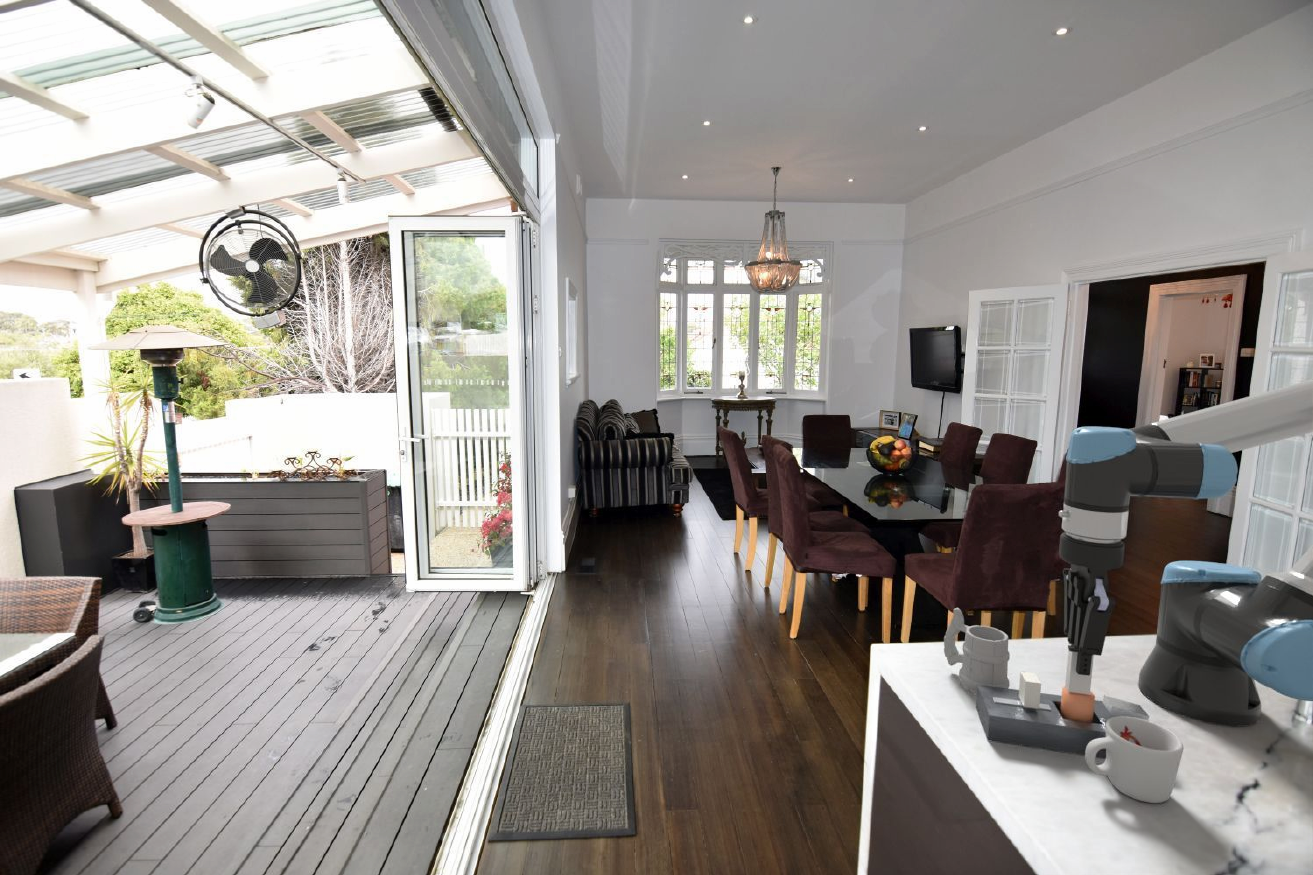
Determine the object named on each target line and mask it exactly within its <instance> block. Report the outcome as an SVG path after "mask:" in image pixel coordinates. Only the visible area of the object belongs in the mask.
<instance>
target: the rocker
mask: <svg viewBox="0 0 1313 875" xmlns="http://www.w3.org/2000/svg"><path fill="white" fill-rule="evenodd" d="M1101 701H1102V703H1103V704H1104V705H1105V707H1106V708H1107V709H1108V711H1109V712H1110V713H1112V714H1115V715H1119V716H1128V717H1135V718H1139V719H1143V720H1147V721H1149V720H1150V715H1149V714H1148V713H1147V712H1146V711H1145V710H1144V708H1143V707H1142V706H1141V704H1137V703H1133V702H1129V701H1125V700H1123V699H1118V698H1115V697H1112V696H1107V695H1104V696H1103V699H1102V700H1101Z"/></svg>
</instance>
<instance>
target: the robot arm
mask: <svg viewBox="0 0 1313 875" xmlns="http://www.w3.org/2000/svg"><path fill="white" fill-rule="evenodd" d="M1310 433H1313V378H1311V379H1308V380H1305V381H1300V382H1297V383H1294V384H1290V385H1287V386H1283V387H1280V388H1275V389H1272V390H1268V391H1265V392H1261V393H1258V394H1253V395H1251V396H1245V397H1243V398H1239V399H1235V400H1231V401H1229V402H1228V401H1227V402H1225V403H1222V404H1218V405H1213V406H1210V407H1206V408H1203V409H1199V410H1195V411H1192V412H1188V413H1185V414H1180V415H1177V416H1173V417H1171V418H1170V417H1169V418H1165V419H1163V420H1159V421H1156V422H1155V421H1154V422H1151V423H1148V424H1143V425H1140V426H1136V427H1133V428H1121V427H1111V426H1081V427H1077V428H1075V429H1073V431H1072V432H1071V434H1070V437H1069V438H1070V439H1069V442H1068V446H1067V447H1068V448H1067V454H1066V457H1065V460H1066V472H1065V485H1064V486H1065V487H1064V497H1063V510H1059V511H1058V517H1060V518H1062V522H1061V529H1062V530H1063V531H1064V532H1062V533H1061V534H1060V536H1059V549H1058V550H1059V551H1058V555H1059V558H1060V559H1062V560H1063V561H1064V562H1066V563H1068V564H1070V568H1065V567H1064V568H1063V569H1062V575H1063V583H1064V589H1063V590H1064V594H1063V596H1064V597H1063V598H1064V599H1063V600H1064V601H1063V603H1064V604H1063V605H1064V607H1063V611H1064V612H1063V616H1064V617H1063V618H1064V619H1063V633H1064V635H1067V643H1068V644H1069V645H1067V648H1068V654H1067V662H1066V663H1067V664H1066V674H1065V684H1064V686H1065V687H1066V689H1067V690H1068V692H1073V693H1080V694H1087V695H1090V691H1091V685H1092V677H1093V668H1094V667H1093V666H1094V656H1102V654H1103V649H1104V645H1105V641H1106V636H1107V633H1108V632H1107V631H1108V628H1109V623H1110V619H1111V614H1112V612H1113V610H1114V608H1115V606H1116V600H1115V598H1114V597H1109V596H1107V593H1108V592H1109V590H1110V581H1109V579H1108V572H1109V571H1111V570H1116V569H1120V568H1121V567H1122V566H1123V565H1124V564H1123V563H1124V556H1125V555H1124V553H1125V542H1123V540H1122V539H1125V538H1126V537H1127V530H1128V522H1129V521H1128V520H1129V506H1130V500H1131V499H1130V498H1131V497H1147V498H1148V497H1150V498H1151V497H1153V498H1174V499H1176V498H1178V499H1192V500H1199V499H1217V498H1218V499H1219V498H1222V497H1225V496H1226V495H1227V494H1230V492H1231V491H1232V490H1233V489H1234V487H1235V485H1236V483H1237V480H1238V479H1237V475H1238V471H1239V470H1238V464H1237V460H1236V457H1235V456H1234V455H1233V453H1236V452H1239V451H1244V450H1248V449H1252V448H1255V447H1259V446H1264V445H1267V444H1270V443H1275V442H1280V441H1283V440H1288V439H1291V438H1294V437H1295V438H1296V437H1298V436H1302V435H1306V434H1310ZM1262 577H1263V576H1262V574H1261V573H1260V572H1259V571H1257V570H1255V569H1253V568H1249V567H1246V566H1245V567H1244V566H1240V565H1234V564H1230V563H1228V564H1227V563H1223V562H1222V563H1220V562H1219V563H1218V562H1213V561H1202V560H1178V561H1177V560H1176V561H1172V562H1169V563H1167V565H1166V566H1165V567H1164V570H1163V574H1162V578H1161V581H1160V585H1161V589H1160V601H1159V608H1158V619H1157V620H1158V621H1157V628H1156V629H1157V630H1156V638H1155V639H1156V640H1155V641H1156V642H1155V645H1154V647H1153V649H1152V650H1151V652H1150V654H1149V655H1148V657H1147V659H1146V660H1145V662H1144V664H1143V665H1142V667H1141V668H1140V671H1139V672H1138V673H1139V675H1138V682H1137V683H1138V689H1139V690H1140V692H1141V693H1142V694H1143V695H1145V697H1146V698H1148V699H1149V700H1150V701H1152V702H1153V703H1155V704H1157V705H1159V706H1160V707H1163V708H1164V709H1166V710H1169V711H1171V712H1174V713H1175V714H1178V715H1181V716H1184V717H1186V718H1190V719H1192V720H1197V721H1201V722H1204V723H1208V724H1214V725H1220V726H1227V727H1247V726H1253V725H1256V724H1257V723H1259V721H1260V719H1261V714H1262V701H1261V698H1260V695H1259V691H1258V688H1257V685H1256V682H1257V683H1259V684H1260V685H1262V686H1264V687H1266V688H1268V689H1271V690H1273V691H1275V692H1276V693H1278V694H1281V695H1282V696H1285V697H1287V698H1290V699H1294V700H1298V701H1306V702H1313V544H1312V545H1311V546H1310V547H1309V548H1308V549H1307V550H1306V551H1305V553H1304V554H1303V555H1302V556H1301V557H1300V558H1299V560H1297V561H1296V563H1295V564H1294V565H1293V566H1292V567H1291V568H1290V569H1289V570H1286V571H1284V572H1273V573H1267V574H1265V576H1264V578H1262Z"/></svg>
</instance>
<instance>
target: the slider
mask: <svg viewBox="0 0 1313 875" xmlns="http://www.w3.org/2000/svg"><path fill="white" fill-rule="evenodd" d="M1041 689H1042V682H1041V681H1040V679H1039V678H1038V676H1037V674H1036V673H1033V672H1026V671H1020V674H1019V687H1018V690H1019V698H1020V700H1021V702H1022V704H1023V706H1024V707H1030V708H1037V709H1039V704H1040V693H1042V690H1041Z"/></svg>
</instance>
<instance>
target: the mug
mask: <svg viewBox="0 0 1313 875" xmlns="http://www.w3.org/2000/svg"><path fill="white" fill-rule="evenodd" d="M960 632H963V633H965V637H964V642H963V643H962V648H961V649H962V652H963V653H960V651H959V650H958V648H957V646H956V638H957V635H958V634H959V633H960ZM943 652H944V657H945V658H946V660H947V663H948V665H949V666H954V665H956V664H957V663H958V664H959V663H961V664H962V665H961V668H960V669H959V671H958V676H959V679H960V686H961V687H962V689H964V690H965V691H966V692H970V693H971V694H972V695H974V696H977V684H978V685H986V686H993V687H1001V688H1008V689H1010V680H1009V679H1010V678H1008V671H1009V670H1008V666H1009V665H1008V664H1009V660H1010V651H1009V635H1008V634H1006V632H1004V631H1003V630H999V629H998V628H995V627H991V626H987V625H977V624H975V625H971V626H969V625H966V624H965V619H964V615H963V611H962V610H961V609H960V608H959V607H956V608H954V609H953V615H952V618H951V619H950V622H949V625H948V627H947V630H946V632H945V635H944V637H943Z"/></svg>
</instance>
